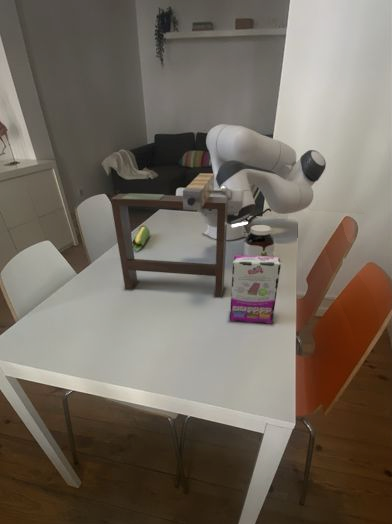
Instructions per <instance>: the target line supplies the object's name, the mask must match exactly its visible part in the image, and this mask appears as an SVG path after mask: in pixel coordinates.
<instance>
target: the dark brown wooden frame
mask: <svg viewBox="0 0 392 524" xmlns="http://www.w3.org/2000/svg"><path fill="white" fill-rule="evenodd" d="M110 204H111V211H112V217H113V222H114V229H115V234H116V241H117V247H118V252H119V260H120V266H121V271H122V278H123V284H124V289H125V290H128V291H131V290H133V288H134V287H135V286H136V285H137V283H138V274H137V272H149V273H150V272H151V273H163V274H164V273H165V274H176V275H177V274H179V275H193V276H204V277H205V276H206V277H215V281H214V297H215V298H222V296H223V292H224V288H225V272H226V250H227V240H226V233H227V212H228V197H209V198H208V199H207V201H206V202H205V204H204V205H203V207H202V208H201V209H217V239H216V246H215V263H202V262H187V261H186V262H185V261H174V260H173V261H171V260H157V259H139V258H135V252H134V248H133V244H132V242H133V238H132V231H131V230H132V229H131V223H130V215H129V207H149V208H150V207H151V208H173V209H174V208H176V209H177V208H178V209H179V208H180V209H183V196H176V195H170V194H169V195H167V194H160V193H159V194H158V193H133V192H132V193H129V192H128V193H118V194H116V195H114V196H113V197H111V198H110Z"/></svg>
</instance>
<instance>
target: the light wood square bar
mask: <svg viewBox="0 0 392 524" xmlns="http://www.w3.org/2000/svg"><path fill="white" fill-rule="evenodd" d="M184 188H185V189H184V190H183V208H182V210H183V211H200V210H201V208H202V207H203V205H204V204H205V202H206V201H207V199H208V198H209V196H210V194H211V193H212V191H213V190H214V174H213V173H201V172H200V173H198V174H197V176H196V177H195V178H193V180H192V181H191V182H190V183H188V184H187V186H186V187H184Z"/></svg>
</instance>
